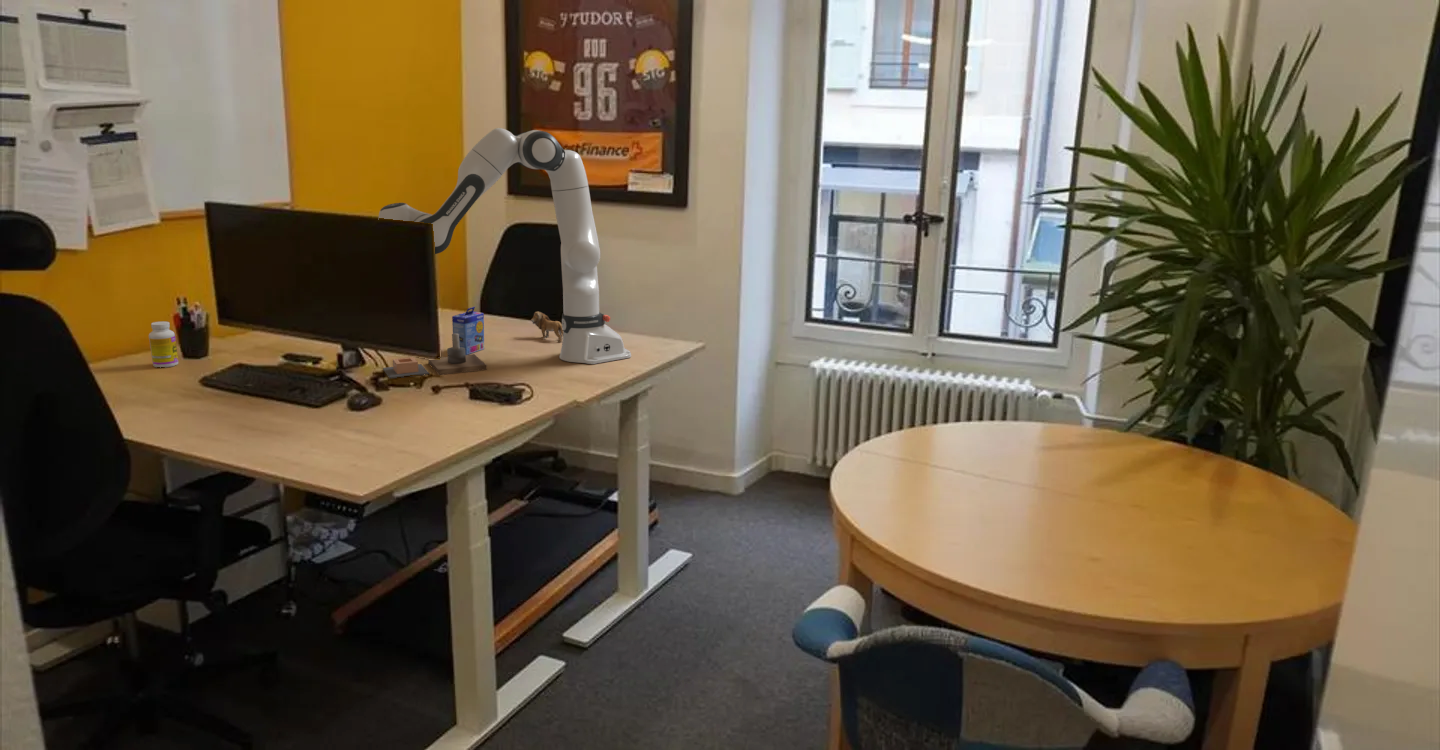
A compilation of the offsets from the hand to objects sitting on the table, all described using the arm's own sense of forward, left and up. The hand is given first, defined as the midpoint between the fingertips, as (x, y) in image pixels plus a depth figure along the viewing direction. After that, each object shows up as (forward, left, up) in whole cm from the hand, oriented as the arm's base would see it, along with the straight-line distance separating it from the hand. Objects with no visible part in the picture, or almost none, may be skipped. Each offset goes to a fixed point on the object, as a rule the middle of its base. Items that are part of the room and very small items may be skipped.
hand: (402, 308), depth 276 cm
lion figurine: (-51, -23, -19) cm, 59 cm away
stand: (-15, 0, -19) cm, 24 cm away
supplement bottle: (+62, -36, -19) cm, 74 cm away
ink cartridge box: (-23, -17, -19) cm, 34 cm away
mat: (0, 0, -19) cm, 19 cm away
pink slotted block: (0, 0, -19) cm, 19 cm away
